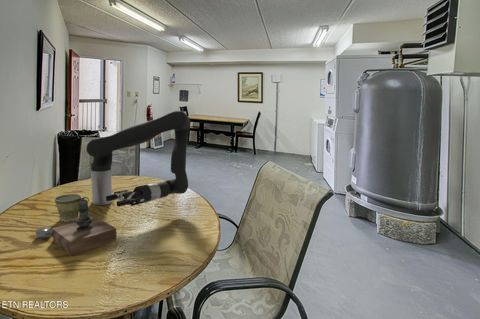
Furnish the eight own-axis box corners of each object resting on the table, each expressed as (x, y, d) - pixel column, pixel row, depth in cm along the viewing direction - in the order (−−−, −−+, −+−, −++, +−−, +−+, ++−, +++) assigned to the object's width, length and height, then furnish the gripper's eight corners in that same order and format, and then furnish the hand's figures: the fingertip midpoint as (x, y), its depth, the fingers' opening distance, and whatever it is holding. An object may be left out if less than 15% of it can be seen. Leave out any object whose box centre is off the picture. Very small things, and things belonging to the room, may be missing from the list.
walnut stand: (53, 241, 111) (52, 228, 110) (96, 228, 123) (95, 216, 122) (71, 256, 101) (70, 242, 100) (116, 240, 113) (116, 228, 113)
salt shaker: (79, 224, 114) (78, 194, 112) (96, 225, 115) (94, 194, 113) (72, 231, 108) (70, 199, 106) (89, 231, 109) (88, 199, 107)
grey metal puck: (34, 237, 114) (33, 229, 113) (49, 233, 118) (48, 226, 117) (38, 241, 111) (38, 233, 110) (53, 237, 114) (53, 229, 114)
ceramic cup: (55, 225, 125) (53, 202, 123) (57, 216, 134) (55, 195, 132) (90, 220, 131) (89, 198, 129) (89, 212, 140) (88, 192, 138)
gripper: (138, 181, 134) (102, 188, 122) (157, 188, 125) (120, 196, 113) (138, 197, 136) (103, 206, 123) (157, 205, 127) (121, 215, 114)
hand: (111, 201), depth 118 cm, fingers open, 8 cm apart
